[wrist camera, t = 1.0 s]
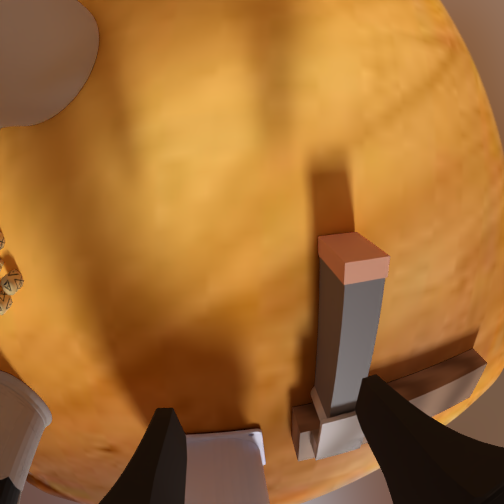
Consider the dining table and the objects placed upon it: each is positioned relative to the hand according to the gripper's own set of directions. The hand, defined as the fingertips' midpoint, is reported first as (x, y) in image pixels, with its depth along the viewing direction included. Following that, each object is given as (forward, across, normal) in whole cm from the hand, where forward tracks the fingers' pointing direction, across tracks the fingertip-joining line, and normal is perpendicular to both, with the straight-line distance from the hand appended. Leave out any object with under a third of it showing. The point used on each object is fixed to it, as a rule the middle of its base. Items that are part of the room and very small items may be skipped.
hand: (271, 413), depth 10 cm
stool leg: (+9, -6, +4) cm, 12 cm away
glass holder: (+10, +27, +14) cm, 32 cm away
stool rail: (+9, -14, +13) cm, 21 cm away
